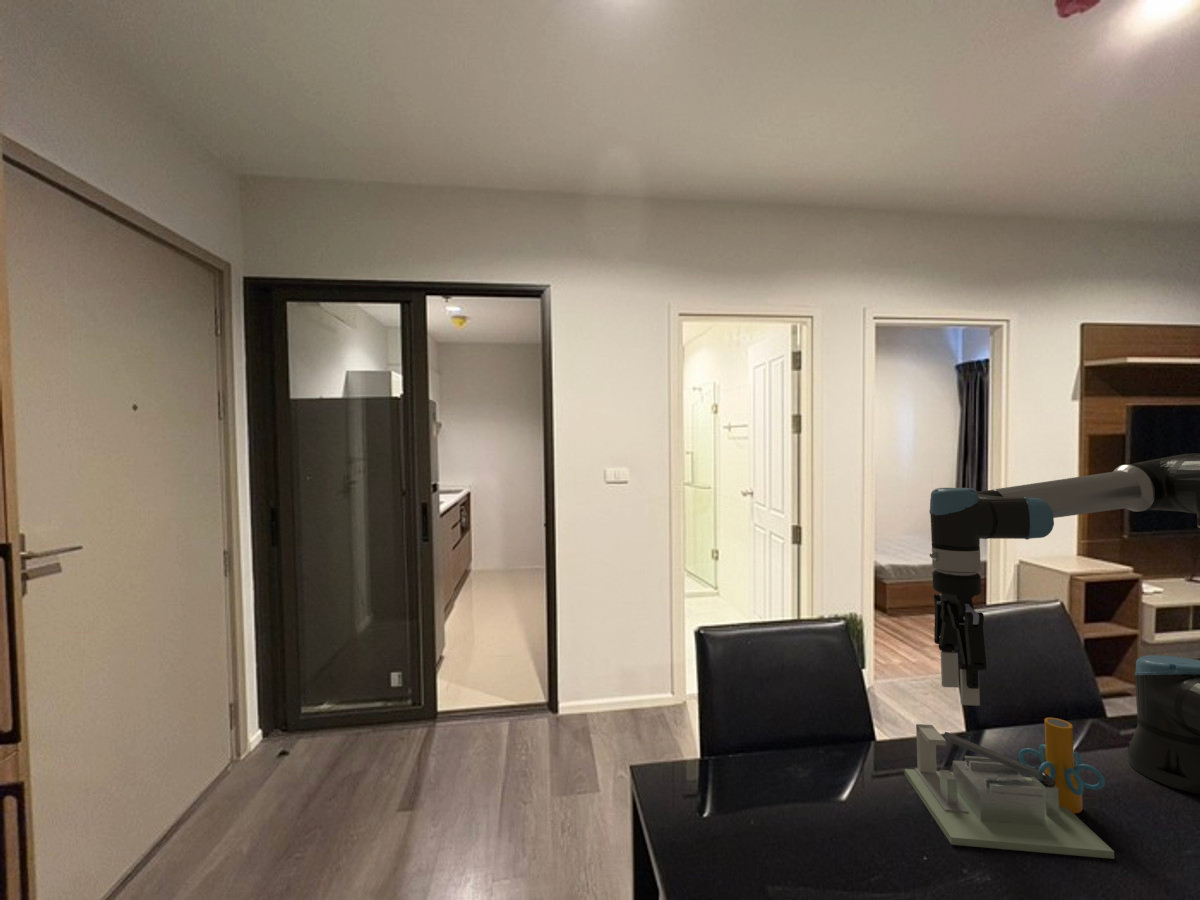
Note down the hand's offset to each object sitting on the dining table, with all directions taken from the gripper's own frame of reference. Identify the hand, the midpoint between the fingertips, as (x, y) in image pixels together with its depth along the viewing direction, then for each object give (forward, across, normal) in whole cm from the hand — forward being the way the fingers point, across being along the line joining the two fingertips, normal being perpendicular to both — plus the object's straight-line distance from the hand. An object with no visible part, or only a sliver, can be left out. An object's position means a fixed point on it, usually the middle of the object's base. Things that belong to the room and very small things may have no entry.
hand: (959, 694), depth 99 cm
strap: (+12, 0, +6) cm, 13 cm away
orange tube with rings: (+21, -4, +18) cm, 28 cm away
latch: (+19, -7, -3) cm, 21 cm away
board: (+21, 0, +6) cm, 22 cm away
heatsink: (+20, 0, +6) cm, 21 cm away
